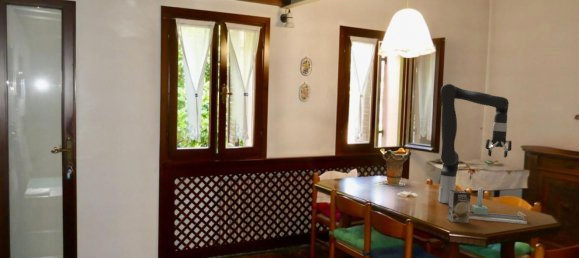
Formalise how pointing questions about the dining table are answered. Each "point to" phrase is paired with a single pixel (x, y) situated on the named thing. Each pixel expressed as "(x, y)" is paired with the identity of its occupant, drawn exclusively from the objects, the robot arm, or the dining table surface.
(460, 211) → the coffee box
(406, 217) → the dining table surface
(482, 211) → the carriage
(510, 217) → the rail track
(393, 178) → the decorative vase
